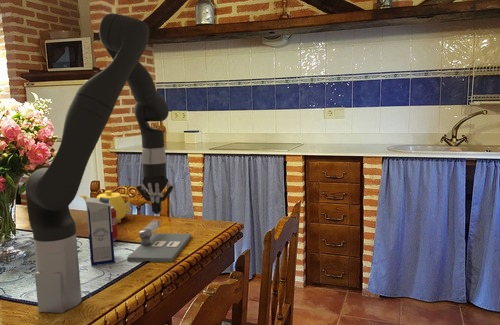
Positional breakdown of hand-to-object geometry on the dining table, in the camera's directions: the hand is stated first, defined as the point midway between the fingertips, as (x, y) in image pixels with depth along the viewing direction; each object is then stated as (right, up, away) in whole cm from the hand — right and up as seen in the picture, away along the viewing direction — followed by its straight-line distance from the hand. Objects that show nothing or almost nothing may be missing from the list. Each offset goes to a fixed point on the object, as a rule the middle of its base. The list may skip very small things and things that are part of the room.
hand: (157, 213), depth 138 cm
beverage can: (-20, -11, +11) cm, 25 cm away
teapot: (-29, -8, +36) cm, 47 cm away
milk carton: (-15, -14, -8) cm, 22 cm away
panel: (+1, -12, +2) cm, 12 cm away
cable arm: (-4, -7, +7) cm, 11 cm away
